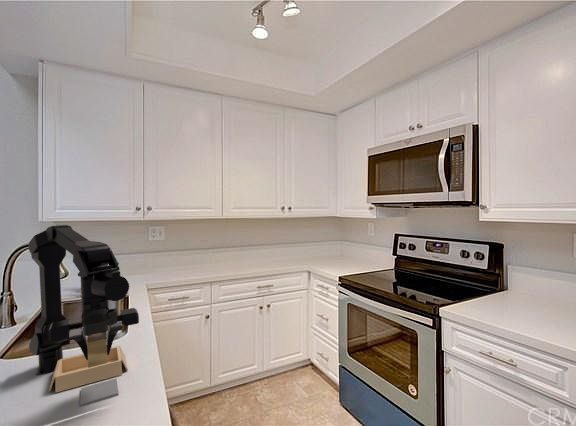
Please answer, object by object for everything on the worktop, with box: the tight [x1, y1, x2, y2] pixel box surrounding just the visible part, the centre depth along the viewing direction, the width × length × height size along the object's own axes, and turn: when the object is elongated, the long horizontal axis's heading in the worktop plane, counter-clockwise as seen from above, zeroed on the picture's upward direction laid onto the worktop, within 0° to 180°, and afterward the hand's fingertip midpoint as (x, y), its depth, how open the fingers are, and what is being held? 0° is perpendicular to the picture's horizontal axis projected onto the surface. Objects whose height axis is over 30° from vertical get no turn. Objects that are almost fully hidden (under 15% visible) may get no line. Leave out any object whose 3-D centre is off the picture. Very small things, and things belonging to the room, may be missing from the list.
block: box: [86, 332, 108, 368], centre depth 79 cm, size 8×4×6 cm, turn 32°
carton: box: [48, 345, 129, 393], centre depth 89 cm, size 14×18×4 cm
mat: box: [79, 377, 119, 408], centre depth 79 cm, size 8×8×1 cm
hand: (97, 356), depth 78 cm, fingers closed on block, 4 cm apart
